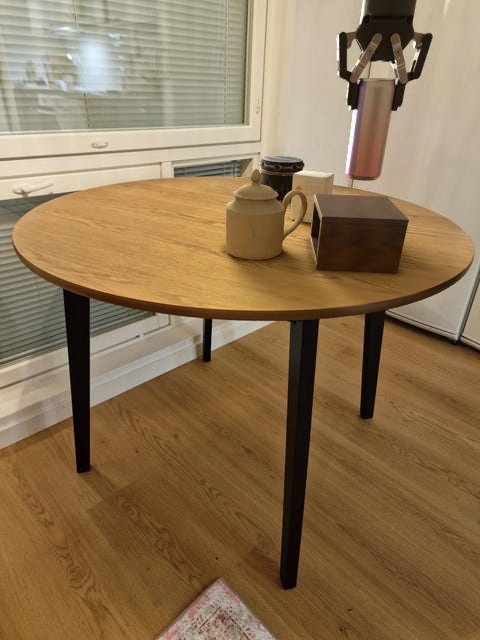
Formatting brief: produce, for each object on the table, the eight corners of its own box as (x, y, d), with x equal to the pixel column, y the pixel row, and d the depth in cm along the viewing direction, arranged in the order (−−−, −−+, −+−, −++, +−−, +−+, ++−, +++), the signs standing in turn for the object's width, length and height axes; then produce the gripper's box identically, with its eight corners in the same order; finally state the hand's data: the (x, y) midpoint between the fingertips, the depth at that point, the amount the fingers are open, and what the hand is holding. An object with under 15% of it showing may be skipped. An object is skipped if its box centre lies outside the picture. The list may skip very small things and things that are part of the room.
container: (304, 191, 126) (307, 156, 121) (298, 201, 115) (302, 163, 110) (262, 188, 129) (264, 153, 124) (253, 198, 118) (254, 160, 113)
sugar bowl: (265, 233, 91) (269, 159, 84) (306, 246, 84) (314, 167, 77) (213, 248, 82) (212, 167, 75) (253, 265, 75) (257, 177, 68)
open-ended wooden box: (378, 242, 87) (386, 196, 82) (397, 273, 73) (409, 219, 68) (309, 239, 88) (314, 193, 83) (315, 269, 74) (322, 216, 69)
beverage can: (338, 177, 73) (350, 77, 66) (356, 173, 77) (370, 78, 70) (368, 182, 70) (385, 78, 62) (386, 178, 73) (404, 78, 66)
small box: (329, 219, 101) (335, 173, 96) (321, 225, 97) (326, 177, 92) (298, 214, 105) (302, 169, 99) (289, 219, 100) (292, 173, 95)
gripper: (345, -28, 57) (330, 110, 65) (454, -28, 56) (425, 112, 65) (338, -17, 64) (325, 108, 72) (436, -17, 63) (411, 109, 71)
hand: (372, 109), depth 68 cm, fingers closed on beverage can, 6 cm apart
